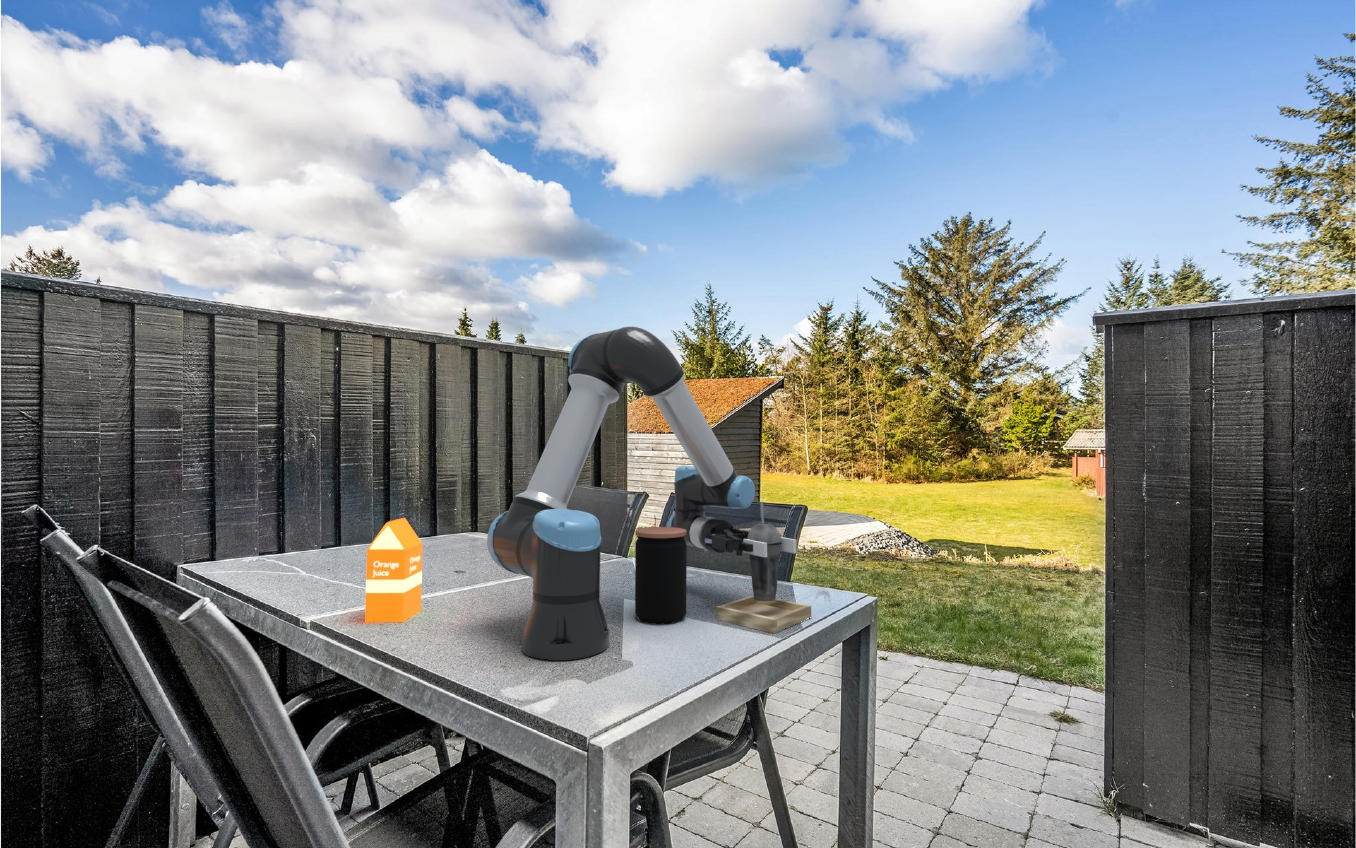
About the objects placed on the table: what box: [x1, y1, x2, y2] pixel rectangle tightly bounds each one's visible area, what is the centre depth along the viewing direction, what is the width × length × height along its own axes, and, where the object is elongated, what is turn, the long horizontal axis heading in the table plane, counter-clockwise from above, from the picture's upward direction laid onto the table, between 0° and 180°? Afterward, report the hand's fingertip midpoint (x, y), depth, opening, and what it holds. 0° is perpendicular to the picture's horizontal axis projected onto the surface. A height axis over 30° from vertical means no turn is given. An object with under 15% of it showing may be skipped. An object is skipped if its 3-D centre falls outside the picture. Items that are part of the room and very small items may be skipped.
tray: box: [715, 594, 812, 634], centre depth 120 cm, size 14×14×2 cm
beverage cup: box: [748, 501, 782, 601], centre depth 121 cm, size 7×7×20 cm
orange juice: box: [364, 517, 423, 624], centre depth 121 cm, size 8×9×20 cm
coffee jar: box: [634, 526, 688, 625], centre depth 121 cm, size 11×11×18 cm
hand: (780, 548), depth 117 cm, fingers closed on beverage cup, 7 cm apart
